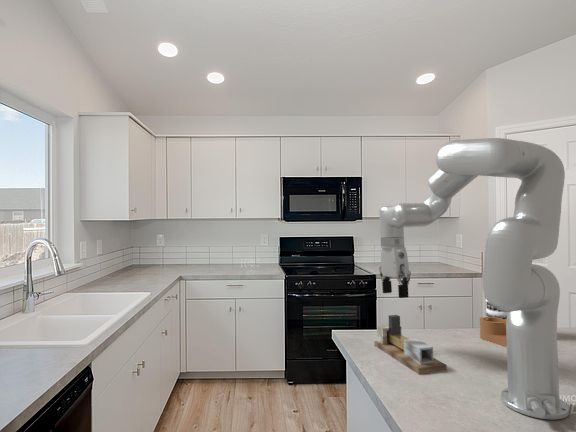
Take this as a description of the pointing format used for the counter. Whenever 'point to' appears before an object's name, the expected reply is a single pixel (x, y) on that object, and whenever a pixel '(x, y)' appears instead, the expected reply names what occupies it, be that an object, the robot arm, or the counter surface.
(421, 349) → the sliding bolt latch
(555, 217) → the robot arm
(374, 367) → the counter surface
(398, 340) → the brass bolt with handle
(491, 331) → the bracket
